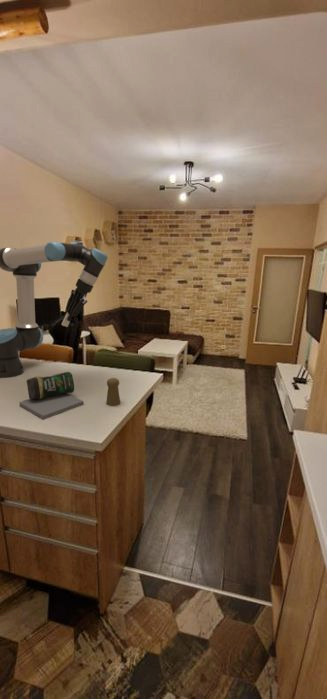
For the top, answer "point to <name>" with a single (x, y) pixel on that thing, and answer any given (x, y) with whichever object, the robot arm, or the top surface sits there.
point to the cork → (113, 392)
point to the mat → (51, 405)
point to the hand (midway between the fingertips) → (64, 325)
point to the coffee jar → (50, 385)
